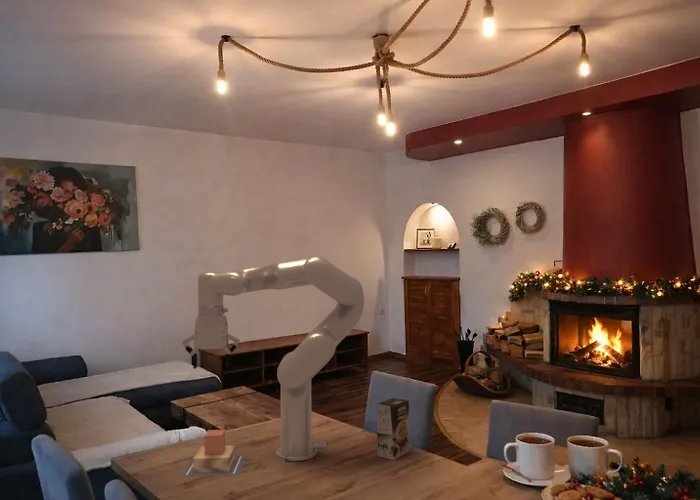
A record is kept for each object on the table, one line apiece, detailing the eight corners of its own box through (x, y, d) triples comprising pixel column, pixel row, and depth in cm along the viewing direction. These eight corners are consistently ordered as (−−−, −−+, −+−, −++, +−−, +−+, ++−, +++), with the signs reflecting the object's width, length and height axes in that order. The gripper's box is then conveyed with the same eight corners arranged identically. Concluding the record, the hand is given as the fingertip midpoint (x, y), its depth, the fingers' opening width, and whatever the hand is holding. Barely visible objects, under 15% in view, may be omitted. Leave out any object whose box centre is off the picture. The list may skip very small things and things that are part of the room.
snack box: (394, 461, 162) (393, 406, 162) (376, 456, 166) (376, 403, 166) (410, 452, 170) (409, 400, 170) (392, 447, 173) (392, 396, 174)
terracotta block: (225, 448, 160) (225, 429, 160) (222, 454, 155) (222, 435, 155) (208, 448, 160) (208, 430, 160) (204, 455, 155) (204, 435, 155)
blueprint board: (246, 459, 165) (246, 455, 165) (238, 478, 151) (238, 474, 151) (192, 460, 164) (192, 457, 164) (180, 479, 150) (180, 475, 150)
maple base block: (235, 458, 163) (235, 445, 163) (229, 472, 153) (229, 457, 153) (201, 459, 162) (201, 446, 162) (193, 473, 152) (193, 458, 152)
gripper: (240, 310, 173) (241, 364, 173) (184, 311, 171) (185, 365, 171) (238, 312, 166) (238, 368, 165) (179, 313, 164) (180, 370, 164)
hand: (211, 367), depth 168 cm, fingers open, 9 cm apart
